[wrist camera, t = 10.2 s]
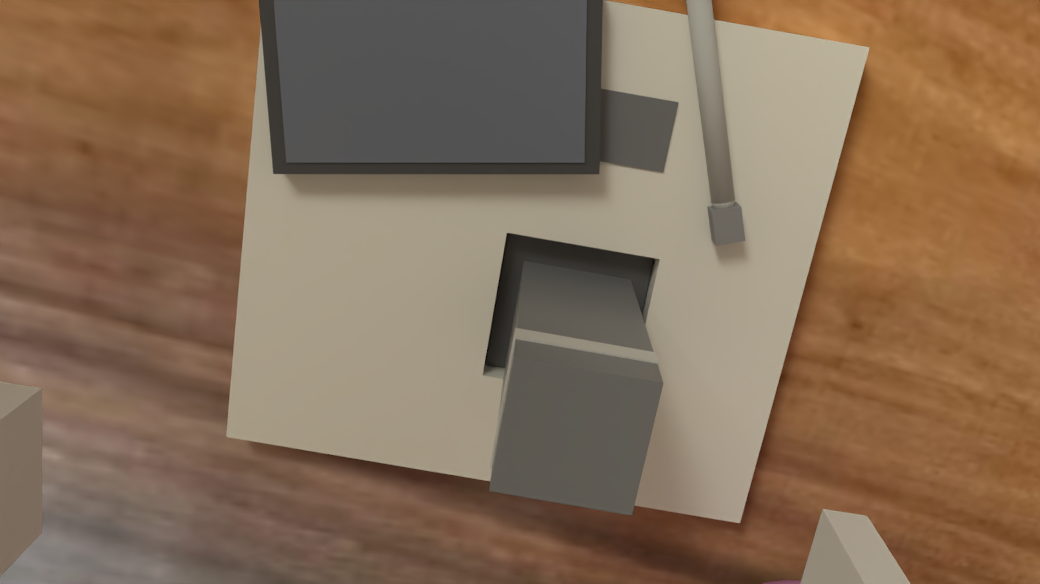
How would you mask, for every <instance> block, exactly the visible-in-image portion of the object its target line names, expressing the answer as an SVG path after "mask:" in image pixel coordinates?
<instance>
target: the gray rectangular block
mask: <svg viewBox="0 0 1040 584" xmlns="http://www.w3.org/2000/svg"><path fill="white" fill-rule="evenodd" d="M659 363H660V362H659V359H658V356H657V353H656V352H654V351H653V348H652V345H651V342H650V339H649V336H648V333H647V329H646V326H645V323H644V320H643V317H642V314H641V310H640V307H639V304H638V301H637V298H636V295H635V291H634V288H633V285H632V282H631V280H630V279H624V278H619V277H613V276H607V275H602V274H596V273H590V272H585V271H579V270H573V269H568V268H562V267H557V266H551V265H545V264H540V263H534V262H528V261H524V263H523V268H522V274H521V279H520V285H519V290H518V296H517V301H516V307H515V312H514V318H513V323H512V329H511V334H510V340H509V345H508V350H507V356H506V362H505V369H504V377H503V385H502V393H501V401H500V409H499V416H498V424H497V430H496V435H495V441H494V446H493V451H492V457H491V465H490V469H492V471H491V479H490V487H489V491H491V492H497V493H503V494H509V495H514V496H520V497H526V498H532V499H538V500H544V501H549V502H555V503H561V504H567V505H573V506H578V507H584V508H590V509H596V510H602V511H607V512H613V513H619V514H625V515H631V516H632V513H633V509H634V505H635V501H636V497H637V492H638V488H639V484H640V480H641V476H642V471H643V467H644V463H645V459H646V455H647V450H648V446H649V442H650V438H651V434H652V429H653V425H654V421H655V417H656V412H657V408H658V404H659V400H660V396H661V391H662V387H663V380H662V377H661V374H660V370H659Z"/></svg>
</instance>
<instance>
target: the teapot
mask: <svg viewBox="0 0 1040 584" xmlns="http://www.w3.org/2000/svg"><path fill="white" fill-rule="evenodd" d="M762 584H801V581H800V580H780V581H771V582H766V583H762Z"/></svg>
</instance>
